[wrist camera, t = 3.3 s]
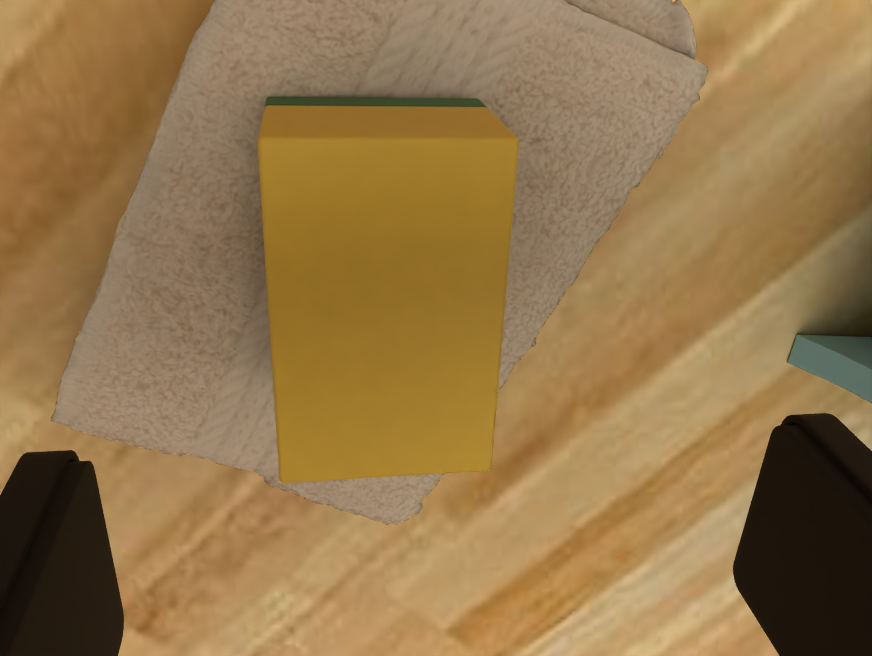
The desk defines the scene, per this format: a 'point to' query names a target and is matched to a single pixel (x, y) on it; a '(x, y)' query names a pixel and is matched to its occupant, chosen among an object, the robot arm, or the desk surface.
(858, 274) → the desk surface
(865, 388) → the vase
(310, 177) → the sponge
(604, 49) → the washcloth
